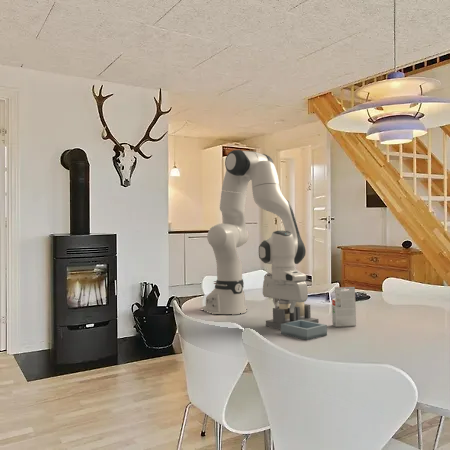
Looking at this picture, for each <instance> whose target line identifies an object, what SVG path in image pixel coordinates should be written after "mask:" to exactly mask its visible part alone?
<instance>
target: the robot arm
mask: <svg viewBox="0 0 450 450" xmlns="http://www.w3.org/2000/svg"><path fill="white" fill-rule="evenodd" d="M224 164H225V165H224V166H225V168H226V171H225V174H224V177H223V182H222V186H221V192H220V203H219V210H220V212H221V214H222V220H223V221H222V223H218V224H216V225H214V226H212V227H211V228H209V230H208V232H207V233H206V235H207V236H206V239H207V243H208V244H209V245H210V247H211V248H212V251H213V255H214V256H215V262H216V278H217V279H216V280H214V281H213V284H214V289H213V290H212V291H211V292H210V293H209V294H208V295H207V296H206V297H205V305H204V306H201V307H200V309H203V310H205V311H208V312H211V313H213V314H232V315H241V314H244V313H247V312H246V311H248V306H247V304H246V296H245V295H246V294H245V291H244V290H243V289H244V278H243V262H242V259H240V257H239V254H238V250H237V248H239V247H242V246H243V245H245V244H247V242H248V240H249V230H248V228H247V224H246V212H245V211H246V209H245V208H246V204H247V203H246V201H247V194H248V193H247V192H248V185H249V183H250V181H251V188H252V196H253V197H252V198H253V200H254V203H255V204H256V205H257V206H258V207H259V208H260V209H262V210H264V211H267V212H270V213H271V214H274V215H276V216H278V217H279V218H280V219H281V221H282V224H283V228H284V230H275V231H273V232H272V233H271V236H270V237H269V238H267V239H264V240H263V241H262V242H261V243H260V244H259V246H258V257H259V260H261V261H262V262H263V264H268V265H271V273H270V272H267V273H266V274H265V275H264V276H263V283H262V295H263V297H265V298H268V299H269V298H271V299H272V302H273V304H274V308H278V309H279V299H281V300H288V301H290V308H288V313H294V307H295V305H296V302H304V303H305V302H306V301H308V298H309V296H308V295H309V294H308V293H309V291H308V284H307V282H306V280H307V274H306V273H303V272H301V271H300V270H299V269H297V268H296V265H298V264H299V263H301V262H302V261H303V260H304V258H305V257H306V247H305V246H306V245H305V244H304V241H303V240H302V236H301V233H300V231H299V227H298V224H297V220H296V217H295V214H294V211H293V208H292V205H291V203H290V201H289V200H288V199H287V198H285V197H284V195H283V193H282V190H281V187H280V180H279V174H278V171H277V168H276V165H275V164H274V161H273V159H272V157H271V156H269V155H268V154H265V153H260V152H257V151H252V150H251V151H248V150H241V149H233V150H231V151H229V152H228V153H227V155H226V157H225V162H224ZM246 309H247V310H246ZM205 311H204V312H205ZM208 312H207V313H208ZM240 313H241V314H240ZM213 314H212V315H213Z"/></svg>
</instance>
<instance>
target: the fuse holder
mask: <svg viewBox="0 0 450 450" xmlns="http://www.w3.org/2000/svg"><path fill="white" fill-rule="evenodd" d="M304 310H305V319H300V307H298V306H295V307H294V313H290V322H292V321H297V320H304V321H310V322H315V323H319V318H315V317H311V304H306V303H304ZM283 323H285V310H284V309H278V308H275V307H273V308H272V319H266V320H265V327H269V328H273V329H277V330H281V324H283ZM287 323H288V322H287Z"/></svg>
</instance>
